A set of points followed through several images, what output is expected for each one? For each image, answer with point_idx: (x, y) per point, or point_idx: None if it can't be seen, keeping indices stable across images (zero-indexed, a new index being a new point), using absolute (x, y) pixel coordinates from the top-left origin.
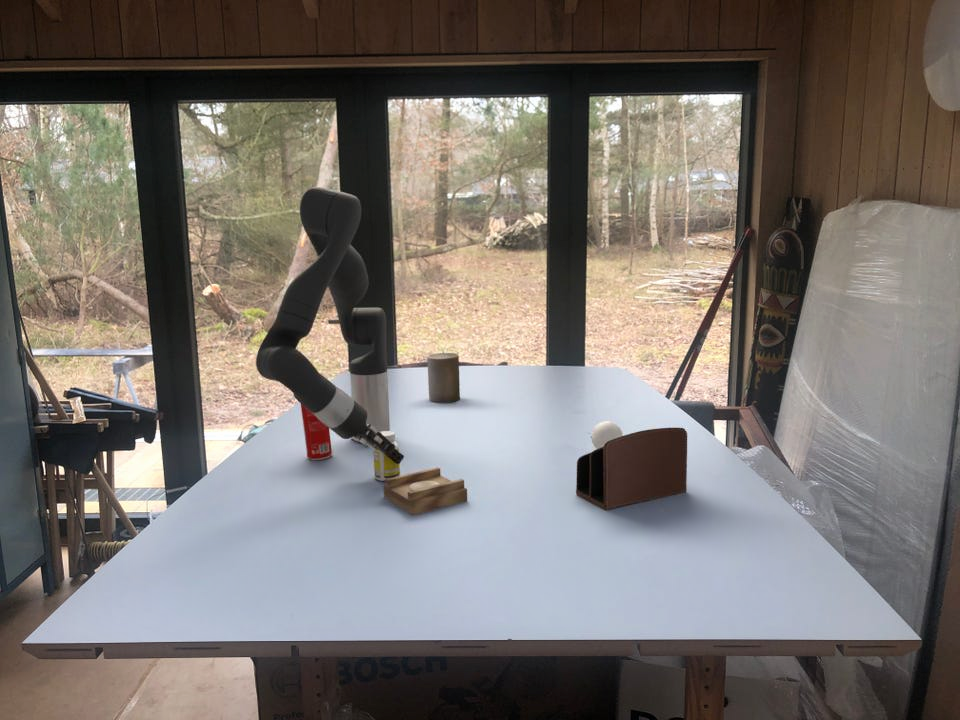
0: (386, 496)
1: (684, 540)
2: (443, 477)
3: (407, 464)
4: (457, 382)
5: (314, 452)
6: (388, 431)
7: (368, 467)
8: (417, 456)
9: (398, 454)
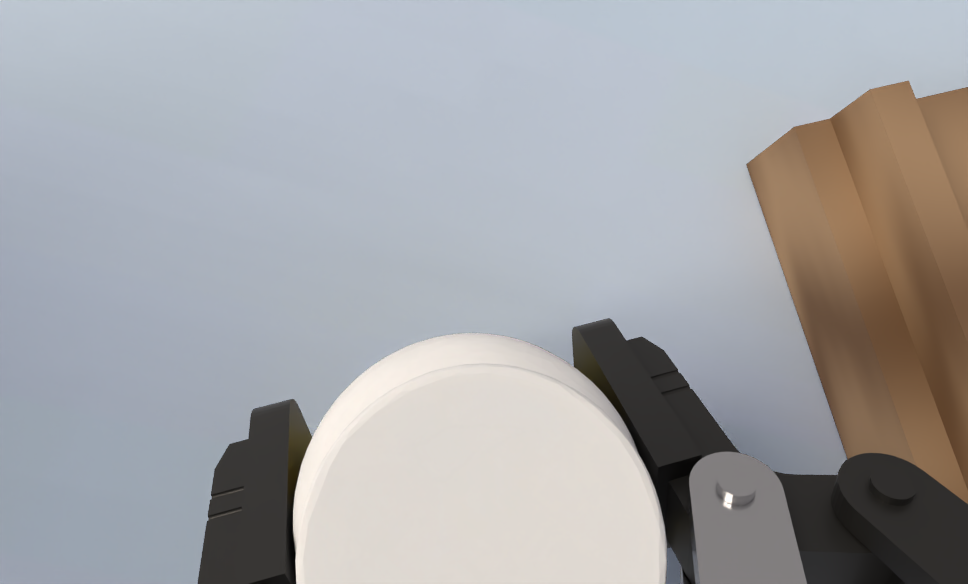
0: None
1: None
2: (919, 105)
3: (200, 229)
4: None
5: None
6: (365, 459)
7: (111, 570)
8: (30, 98)
9: (685, 389)
